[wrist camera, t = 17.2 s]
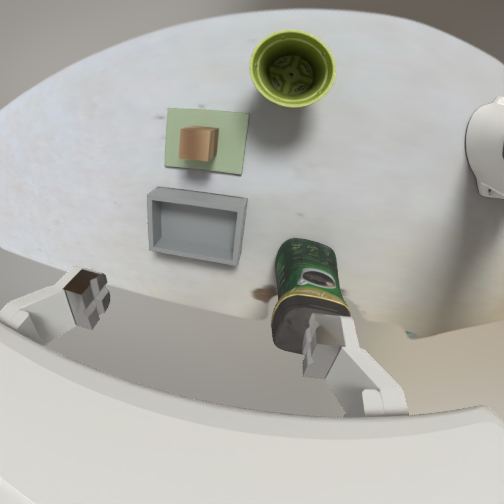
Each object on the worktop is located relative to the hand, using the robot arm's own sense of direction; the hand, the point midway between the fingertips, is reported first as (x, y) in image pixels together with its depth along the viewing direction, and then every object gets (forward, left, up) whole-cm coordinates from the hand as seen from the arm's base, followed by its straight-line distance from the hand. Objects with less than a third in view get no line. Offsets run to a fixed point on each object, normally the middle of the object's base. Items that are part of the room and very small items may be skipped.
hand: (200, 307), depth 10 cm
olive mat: (+9, -1, -33) cm, 34 cm away
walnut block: (+9, -1, -33) cm, 34 cm away
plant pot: (-2, -12, -33) cm, 35 cm away
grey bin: (+9, +12, -33) cm, 36 cm away
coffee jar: (-9, +16, -33) cm, 38 cm away
